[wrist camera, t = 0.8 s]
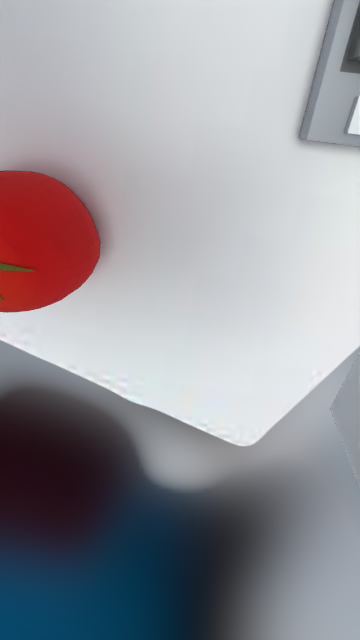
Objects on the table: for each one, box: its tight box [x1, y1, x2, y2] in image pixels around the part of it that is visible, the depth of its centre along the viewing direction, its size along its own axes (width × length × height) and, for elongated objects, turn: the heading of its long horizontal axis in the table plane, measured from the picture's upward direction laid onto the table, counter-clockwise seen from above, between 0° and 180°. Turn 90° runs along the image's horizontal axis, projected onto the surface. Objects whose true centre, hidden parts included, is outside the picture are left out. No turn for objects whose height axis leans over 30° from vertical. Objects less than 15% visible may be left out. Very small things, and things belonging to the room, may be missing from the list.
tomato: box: [0, 171, 100, 312], centre depth 29 cm, size 13×11×14 cm
